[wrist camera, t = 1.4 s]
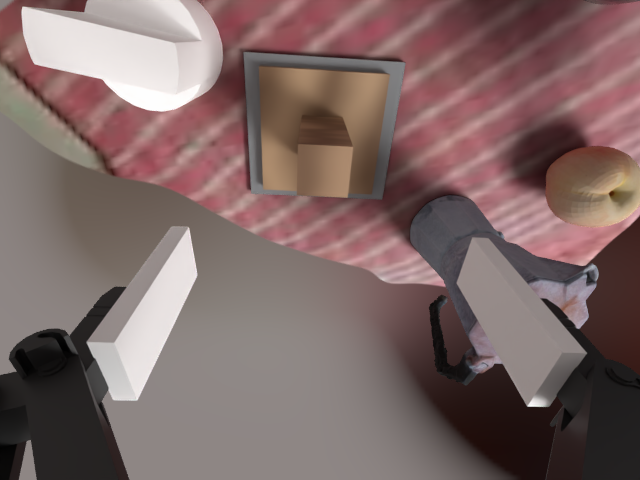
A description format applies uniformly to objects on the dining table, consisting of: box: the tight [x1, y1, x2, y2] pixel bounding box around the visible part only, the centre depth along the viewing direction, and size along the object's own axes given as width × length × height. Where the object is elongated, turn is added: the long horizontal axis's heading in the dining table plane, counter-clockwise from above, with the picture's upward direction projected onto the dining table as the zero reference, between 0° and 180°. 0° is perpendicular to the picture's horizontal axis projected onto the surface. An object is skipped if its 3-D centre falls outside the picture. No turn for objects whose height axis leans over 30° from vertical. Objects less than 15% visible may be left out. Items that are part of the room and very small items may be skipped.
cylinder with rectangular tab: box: [22, 0, 223, 111], centre depth 25 cm, size 9×9×12 cm
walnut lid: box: [259, 65, 390, 198], centre depth 30 cm, size 12×12×11 cm
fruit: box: [546, 146, 640, 227], centre depth 34 cm, size 8×8×8 cm
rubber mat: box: [244, 52, 405, 199], centre depth 35 cm, size 15×14×1 cm
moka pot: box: [410, 195, 598, 385], centre depth 33 cm, size 10×15×20 cm, turn 148°
